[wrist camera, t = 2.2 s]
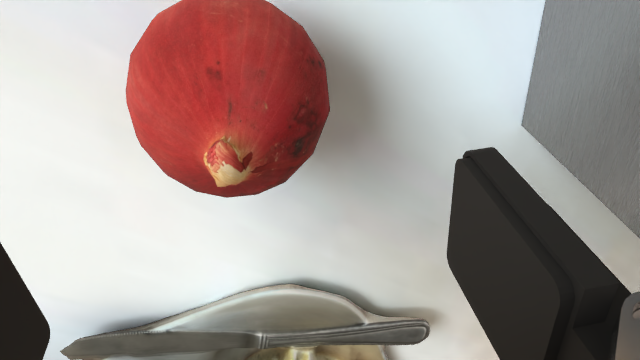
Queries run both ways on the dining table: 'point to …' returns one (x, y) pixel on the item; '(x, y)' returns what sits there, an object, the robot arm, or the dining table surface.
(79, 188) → the dining table surface
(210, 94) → the onion
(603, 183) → the housing
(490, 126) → the dining table surface
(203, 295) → the dining table surface
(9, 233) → the dining table surface
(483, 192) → the robot arm
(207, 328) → the salad plate
